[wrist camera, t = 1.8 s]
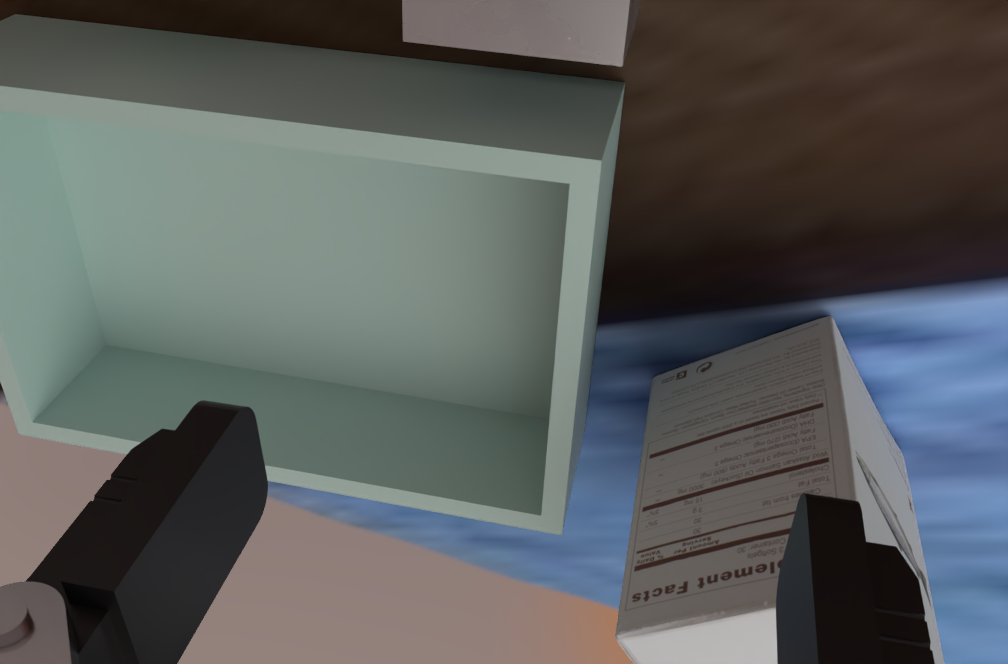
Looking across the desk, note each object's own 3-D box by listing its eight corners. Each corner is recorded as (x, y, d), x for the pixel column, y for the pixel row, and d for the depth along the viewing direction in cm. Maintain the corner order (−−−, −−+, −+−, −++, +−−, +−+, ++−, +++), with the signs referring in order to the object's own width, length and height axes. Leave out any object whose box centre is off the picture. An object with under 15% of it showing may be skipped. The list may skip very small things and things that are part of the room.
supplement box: (908, 454, 36) (972, 762, 26) (726, 502, 39) (718, 791, 29) (835, 305, 33) (874, 587, 23) (645, 371, 36) (605, 642, 26)
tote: (15, 14, 33) (-110, 72, 28) (625, 82, 30) (601, 160, 25) (103, 346, 41) (18, 434, 37) (585, 427, 38) (561, 535, 33)
